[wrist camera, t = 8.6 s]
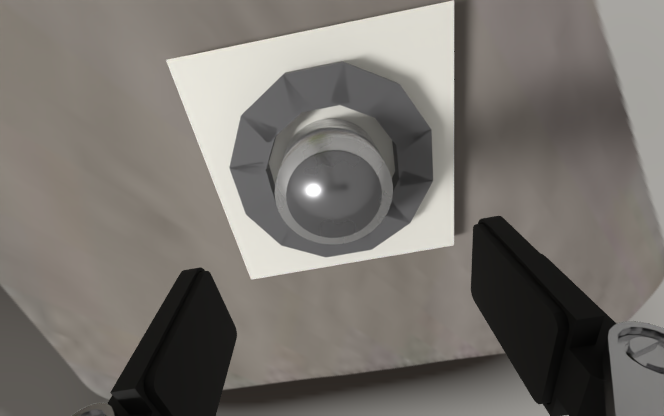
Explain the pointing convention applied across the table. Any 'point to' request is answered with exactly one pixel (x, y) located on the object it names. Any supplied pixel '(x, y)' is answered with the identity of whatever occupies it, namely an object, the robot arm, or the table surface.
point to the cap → (333, 183)
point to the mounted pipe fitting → (322, 103)
